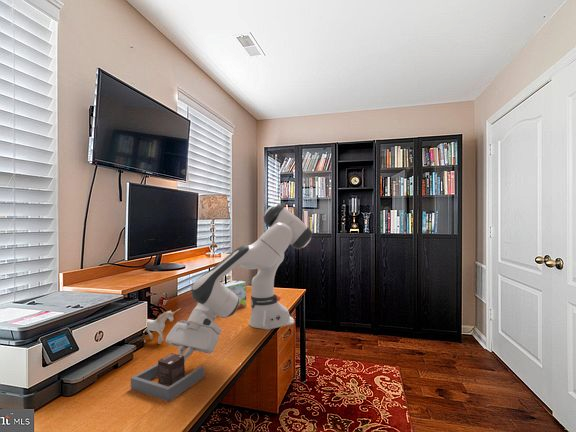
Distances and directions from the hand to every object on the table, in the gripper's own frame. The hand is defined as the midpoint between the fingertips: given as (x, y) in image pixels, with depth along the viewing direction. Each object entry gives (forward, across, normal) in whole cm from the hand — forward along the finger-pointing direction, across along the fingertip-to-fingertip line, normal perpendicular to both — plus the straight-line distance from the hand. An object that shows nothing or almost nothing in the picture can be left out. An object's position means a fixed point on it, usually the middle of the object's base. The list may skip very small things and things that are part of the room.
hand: (180, 360), depth 105 cm
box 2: (+7, 0, 0) cm, 7 cm away
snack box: (-44, -30, +52) cm, 74 cm away
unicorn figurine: (-10, -32, +18) cm, 38 cm away
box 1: (+6, 0, +1) cm, 6 cm away
